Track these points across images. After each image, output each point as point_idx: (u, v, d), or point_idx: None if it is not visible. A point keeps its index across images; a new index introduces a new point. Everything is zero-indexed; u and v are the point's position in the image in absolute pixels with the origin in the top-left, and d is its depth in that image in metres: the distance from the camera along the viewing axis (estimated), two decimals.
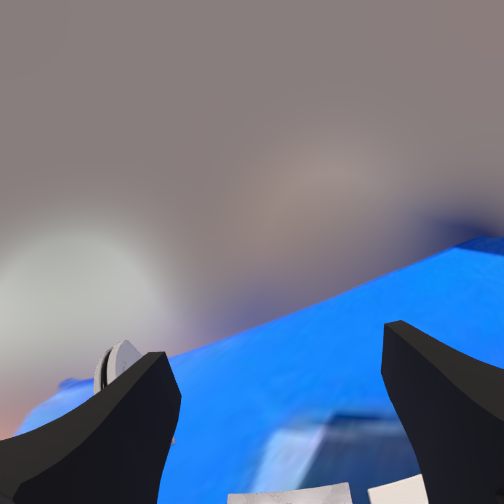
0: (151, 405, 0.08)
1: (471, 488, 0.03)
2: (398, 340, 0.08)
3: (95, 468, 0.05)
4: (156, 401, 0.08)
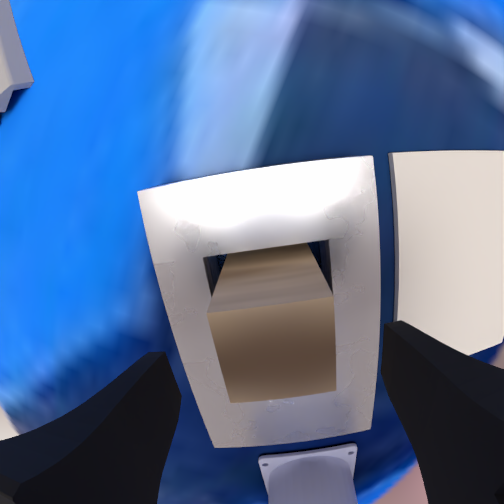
0: (151, 405, 0.08)
1: (471, 488, 0.03)
2: (398, 340, 0.08)
3: (95, 468, 0.05)
4: (156, 401, 0.08)
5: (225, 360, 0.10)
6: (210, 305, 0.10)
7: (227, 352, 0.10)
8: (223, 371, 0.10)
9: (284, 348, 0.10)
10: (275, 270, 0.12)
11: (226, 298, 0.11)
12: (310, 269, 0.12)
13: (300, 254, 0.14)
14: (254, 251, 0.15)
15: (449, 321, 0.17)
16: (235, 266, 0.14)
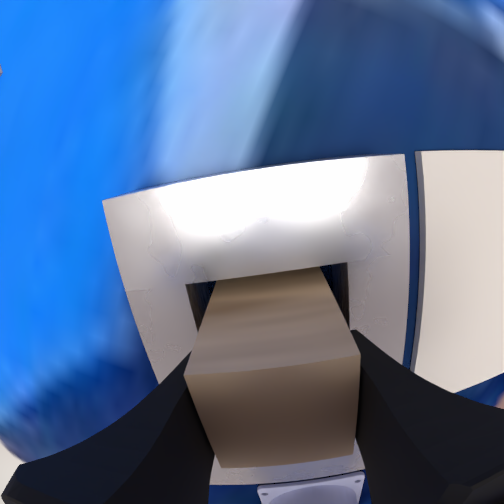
0: None
1: None
2: None
3: (161, 478, 0.04)
4: None
5: (212, 427, 0.07)
6: (190, 360, 0.07)
7: (214, 419, 0.07)
8: (210, 438, 0.07)
9: (289, 416, 0.07)
10: (278, 304, 0.09)
11: (212, 350, 0.08)
12: (324, 305, 0.09)
13: (310, 279, 0.11)
14: None
15: (473, 345, 0.14)
16: (227, 295, 0.11)
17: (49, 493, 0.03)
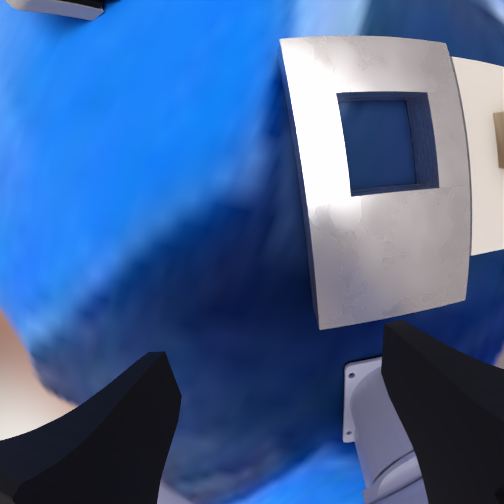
0: (151, 405, 0.08)
1: (471, 488, 0.03)
2: (398, 340, 0.08)
3: (96, 468, 0.05)
4: (156, 401, 0.08)
5: None
6: None
7: None
8: None
9: None
10: None
11: None
12: None
13: None
14: None
15: None
16: None
17: None
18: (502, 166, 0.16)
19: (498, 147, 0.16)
